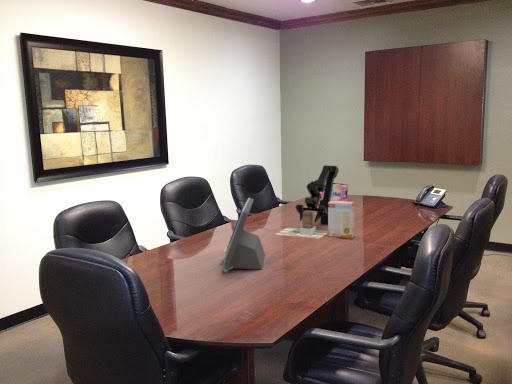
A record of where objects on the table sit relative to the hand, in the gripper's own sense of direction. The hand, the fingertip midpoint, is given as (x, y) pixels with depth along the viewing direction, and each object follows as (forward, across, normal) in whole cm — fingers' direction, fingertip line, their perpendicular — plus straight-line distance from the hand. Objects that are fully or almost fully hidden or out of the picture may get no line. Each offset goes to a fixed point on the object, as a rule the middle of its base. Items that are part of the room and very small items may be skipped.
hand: (307, 221), depth 285 cm
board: (+5, -4, +7) cm, 9 cm away
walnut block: (+5, 0, +6) cm, 8 cm away
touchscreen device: (+49, -9, -36) cm, 62 cm away
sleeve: (+5, 0, +6) cm, 8 cm away
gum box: (-75, -23, +86) cm, 117 cm away
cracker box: (+4, +20, +8) cm, 22 cm away
